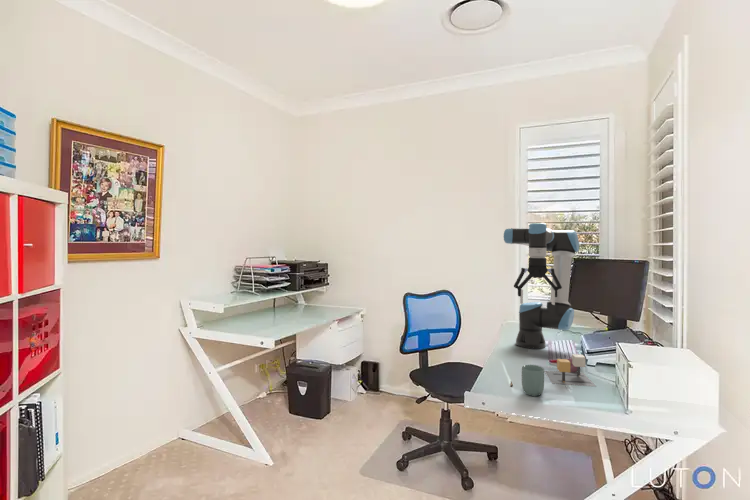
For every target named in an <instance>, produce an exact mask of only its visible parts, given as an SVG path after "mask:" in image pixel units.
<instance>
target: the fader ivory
mask: <svg viewBox="0 0 750 500" xmlns="http://www.w3.org/2000/svg"><path fill="white" fill-rule="evenodd" d="M571 357H572V364H573V365H574V366H575V367H577V371H576V372H577V375H580V373H581V368H586V357H585V356H584V355H583V354H577V353H572V354H571Z"/></svg>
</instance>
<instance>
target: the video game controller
mask: <svg viewBox="0 0 750 500" xmlns="http://www.w3.org/2000/svg"><path fill="white" fill-rule="evenodd" d="M568 360H569V361H570V372H577V367H575V366H574V365H573V364H572V356H571V357H569V358H568Z"/></svg>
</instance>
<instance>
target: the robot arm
mask: <svg viewBox="0 0 750 500" xmlns="http://www.w3.org/2000/svg"><path fill="white" fill-rule="evenodd" d="M578 236H579V235H578V234H577V232H576V231H575V230H570V229H566V230H562V229H561V230H560V229H559V230H552V229H551V228H548V227H547V224H546V223H545V222H536V223H535V222H532V223H529V225H528V228H527V227H525V228H523V227H522V228H520V227H519V228H516V227H515V228H514V227H513V228H512V227H511V228H506V229H504V231H503V241H504V243H505V244H507V245H509V244H510V245H514V244H516V245H523V246H528V267H527V268H526V267H520V268H521V269H520V273H519V274H518V277H517V278H516V280H515V283H514V284H513V288H515V289H517V296H518V297H519V302H520V303H519V304H520V305H519V312H518V313H519V314H518V319H519V320H518V321H519V322H518V323H519V324H518V327H519V328H518V329H519V330H518V334H517V336H516V338H515V345H516V346H518V347H521V348H525V349H526V348H527V349H534V350H535V349H544V348H545V347H546V339H545V336H544V334H543V329H550V330H551V329H552V330H557V331H558V330H559V331H569V330H570V328H572V325H573V323H574V318H575V310H574V308H572V304H571V303H570V302H569V294H570V282H571V270H572V258H574V257H576V253H578V252H579V251H580V241H579V237H578ZM547 252H551V255H552V256H553V267H550V268H547ZM526 273H528V274H527V276H526V277H525V278H524V279H523V280H522V278H523V277H524V275H525V274H526ZM547 273H550V275H551V277H552V278H551V279H550V278H549V277H548V276H547V275H546V274H547ZM533 278H535V279H542V278H544V280H545V281H546V282H547V283H548V284H549V286H551V290H550V298H549V300H548V301H547V302H546V305H543V303H542V302H539V301H537V302H536V301H534V302H533V301H532V302H524V298H523V297H524V290H523V287H525V285H526V284H527V283H528V282H529V281H530V280H531V279H533ZM521 280H522V282H521ZM520 282H521V283H520Z"/></svg>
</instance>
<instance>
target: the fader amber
mask: <svg viewBox="0 0 750 500" xmlns="http://www.w3.org/2000/svg"><path fill="white" fill-rule="evenodd" d="M568 359H569V358H568ZM568 359H567V358H556V369H557V370H558V371H559V372H562V381H565V372H570V361H569V360H568Z"/></svg>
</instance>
